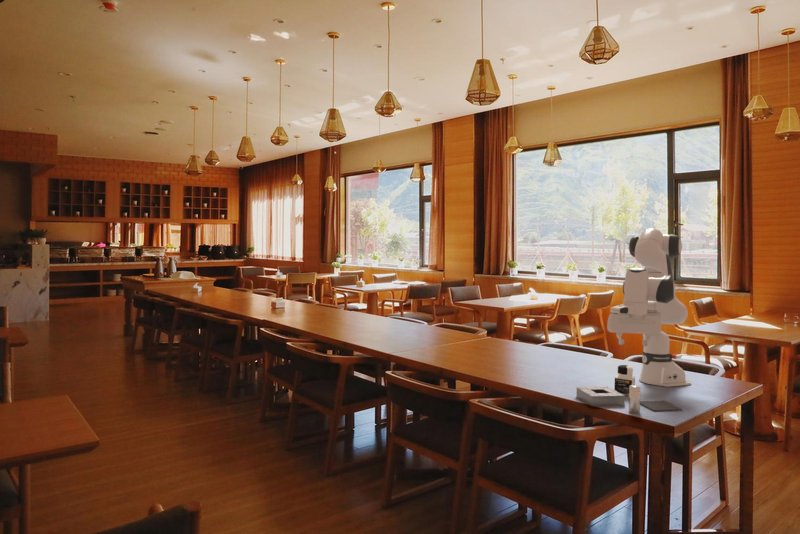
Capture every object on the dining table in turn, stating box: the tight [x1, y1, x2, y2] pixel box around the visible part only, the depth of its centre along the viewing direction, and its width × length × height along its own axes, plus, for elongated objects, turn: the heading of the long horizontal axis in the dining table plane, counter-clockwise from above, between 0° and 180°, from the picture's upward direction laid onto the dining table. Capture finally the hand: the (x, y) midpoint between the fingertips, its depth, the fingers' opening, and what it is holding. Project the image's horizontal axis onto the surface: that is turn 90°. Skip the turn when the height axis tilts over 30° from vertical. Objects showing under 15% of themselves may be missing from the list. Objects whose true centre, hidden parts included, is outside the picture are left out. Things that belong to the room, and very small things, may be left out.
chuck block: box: [576, 386, 626, 407], centre depth 230 cm, size 14×14×4 cm
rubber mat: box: [640, 400, 683, 412], centre depth 223 cm, size 12×12×1 cm
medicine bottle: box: [613, 364, 636, 396], centre depth 243 cm, size 7×7×12 cm
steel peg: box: [628, 384, 642, 415], centre depth 215 cm, size 4×4×10 cm
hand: (633, 345), depth 215 cm, fingers open, 8 cm apart
